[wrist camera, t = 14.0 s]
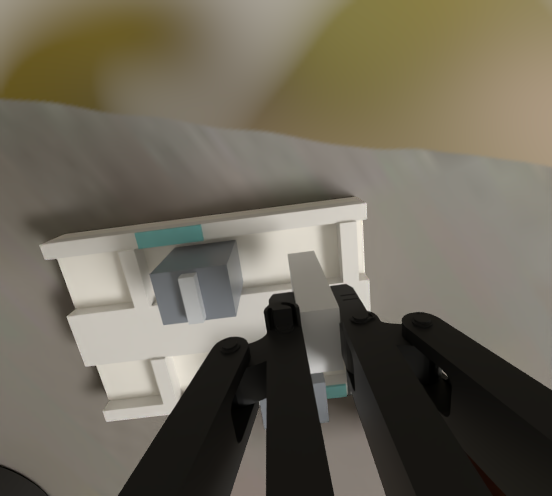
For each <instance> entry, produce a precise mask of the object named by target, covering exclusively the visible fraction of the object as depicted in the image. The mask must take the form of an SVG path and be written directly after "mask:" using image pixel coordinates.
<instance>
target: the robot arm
mask: <svg viewBox="0 0 552 496" xmlns="http://www.w3.org/2000/svg"><path fill="white" fill-rule="evenodd" d="M288 262H289V270H290V278H291V286H292V292H285V293H277V294H273V295H272V296H271V297H270V299H269V305H268V306H267V307H266V308H265V309H264V317H265V324H266V330H267V334H266V335H265V336H264V337H263V338H261V339H259V340H257V341H255V342H252V343H249V344H248V342H247V340H246V339H244V338H242V337H228V338H225V339H222V340H221V341H219V342H217V343H216V344H215V345H214V346H213V348H212V349H211V351H210V352H209V354H208V355H207V357H206V359H205V360H204V362H203V363H202V365H201V366H200V368H199V370H198V371H197V373H196V374H195V376H194V377H193V379H192V380H191V382H190V384H189V385H188V387H187V388H186V390H185V391H184V393H183V395H182V396H181V398H180V399H179V401H178V402H177V404H176V406H175V407H174V409H173V410H172V412H171V413H170V415H169V417H168V418H167V420H166V421H165V423H164V424H163V426H162V427H161V429H160V431H159V432H158V434H157V435H156V437H155V438H154V440H153V442H152V443H151V445H150V446H149V448H148V449H147V451H146V453H145V454H144V456H143V457H142V459H141V460H140V462H139V464H138V465H137V467H136V468H135V470H134V471H133V473H132V474H131V476H130V478H129V479H128V481H127V482H126V484H125V485H124V487H123V489H122V490H121V492H120V493H119V495H118V496H230V494H231V491H232V488H233V485H234V482H235V479H236V476H237V473H238V470H239V467H240V464H241V460H242V457H243V454H244V451H245V448H246V445H247V442H248V439H249V436H250V433H251V430H252V427H253V424H254V421H255V418H256V415H257V411H258V408H259V401H261V400H263V399H266V496H334V492H333V487H332V482H331V476H330V471H329V466H328V461H327V456H326V450H325V445H324V440H323V435H322V430H321V424H320V419H319V414H318V409H317V404H316V398H315V393H314V388H313V383H312V378H311V374H313V373H321V372H329V371H337V370H344V363H345V366H346V375H347V388H348V395H351V393H352V396H353V399H354V402H355V405H356V408H357V411H358V414H359V417H360V420H361V423H362V426H363V429H364V431H365V434H366V437H367V440H368V443H369V446H370V449H371V452H372V455H373V458H374V461H375V464H376V467H377V470H378V473H379V476H380V479H381V482H382V485H383V488H384V491H385V494H386V496H493V495H492V494H491V492H490V490H489V489H488V487H487V486H486V484H485V483H484V481H483V480H482V478H481V476H480V475H479V473H478V472H477V470H476V469H475V467H474V466H473V464H472V462H471V461H470V459H469V458H468V456H467V455H466V453H467V454H468V455H469V456H470V457H471V459H472V460H473V461H474V462H475V463H476V464H477V465H478V466H479V467H480V468H481V469H482V470H483V471H484V472H485V473H486V475H487V476H488V477H489V478H490V479H491V480H492V481H493V482H494V483H495V484H496V485H497V486H498V487H499V488H500V489H501V490H502V492H503V493H504V494H505V495H506V496H552V390H551V389H549V388H547V387H546V386H544V385H543V384H541V383H540V382H538V381H536V380H535V379H533V378H532V377H530V376H529V375H527V374H526V373H524V372H522V371H521V370H519V369H518V368H516V367H515V366H513V365H512V364H510V363H508V362H507V361H505V360H504V359H502V358H501V357H499V356H497V355H496V354H494V353H493V352H491V351H490V350H488V349H487V348H485V347H483V346H482V345H480V344H479V343H477V342H476V341H474V340H473V339H471V338H469V337H468V336H466V335H465V334H463V333H462V332H460V331H458V330H457V329H455V328H454V327H452V326H451V325H449V324H448V323H446V322H444V321H443V320H441V319H440V318H438V317H436V316H434V315H432V314H428V313H424V312H421V313H420V312H415V313H409V314H407V315H405V316H404V317H403V318H402V324H391V323H384V322H381V321H380V319H379V318H378V316H377V315H375V314H374V313H372V312H370V311H367V310H366V308H365V306H364V305H363V303H362V301H361V300H360V299H359V296H358V295H357V293H356V292H355V290H354V288H353V287H351V286H349V285H347V284H341V285H333V286H329V283H328V281H327V279H326V277H325V274H324V272H323V270H322V268H321V265H320V263H319V261H318V259H317V256H316V254H315V252H314V251H307V252H299V253H292V254H288ZM343 360H344V363H343ZM442 370H443V371H444V372H445V373H446V374H447V376H448V377H447V376H446V375H445V374H443V373H442ZM464 451H465V452H466V453H465V452H464ZM0 496H47V495H46V494H45V493H44V492H43V491H42V490H41V489H40V488H39V487H37V486H36V485H35V484H33V483H32V482H30V481H29V480H27V479H25V478H24V477H22V476H20V475H18V474H16V473H14V472H12V471H9V470H7V469H4V468H1V467H0Z"/></svg>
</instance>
